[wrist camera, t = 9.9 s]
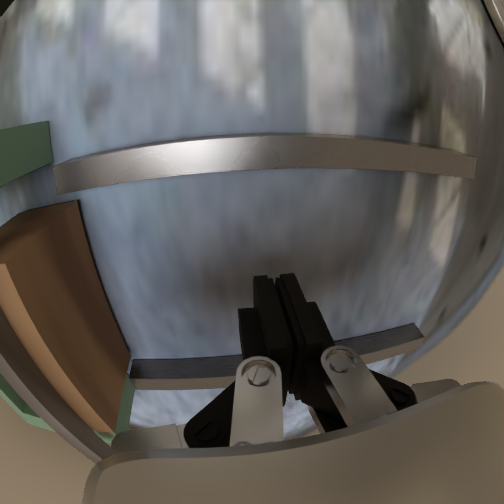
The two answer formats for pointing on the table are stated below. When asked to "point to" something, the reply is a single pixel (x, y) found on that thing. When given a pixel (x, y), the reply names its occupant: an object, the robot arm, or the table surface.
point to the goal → (3, 171)
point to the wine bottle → (4, 5)
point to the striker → (59, 328)
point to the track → (249, 158)
